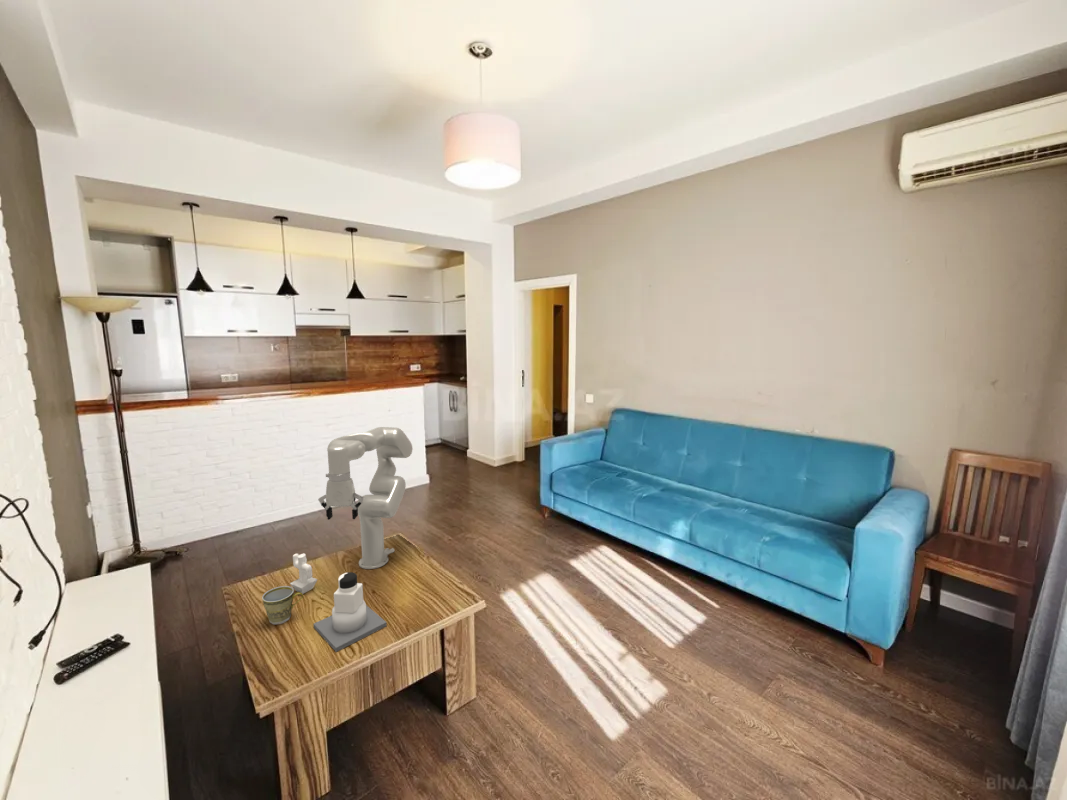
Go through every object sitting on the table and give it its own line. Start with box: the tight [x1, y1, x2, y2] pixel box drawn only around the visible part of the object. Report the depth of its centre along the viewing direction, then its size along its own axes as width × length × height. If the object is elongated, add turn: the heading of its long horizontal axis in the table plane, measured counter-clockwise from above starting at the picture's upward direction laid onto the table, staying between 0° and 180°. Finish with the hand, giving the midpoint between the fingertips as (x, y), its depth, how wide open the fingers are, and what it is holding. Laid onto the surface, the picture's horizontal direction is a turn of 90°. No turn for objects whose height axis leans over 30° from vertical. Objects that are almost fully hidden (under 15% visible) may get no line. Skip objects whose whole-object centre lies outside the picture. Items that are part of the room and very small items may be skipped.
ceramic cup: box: [261, 585, 304, 626], centre depth 164 cm, size 13×10×10 cm
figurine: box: [289, 552, 318, 594], centre depth 182 cm, size 7×9×15 cm
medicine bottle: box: [333, 571, 364, 613], centre depth 158 cm, size 7×7×12 cm
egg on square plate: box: [313, 599, 387, 653], centre depth 159 cm, size 18×18×8 cm
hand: (342, 518), depth 179 cm, fingers open, 9 cm apart
